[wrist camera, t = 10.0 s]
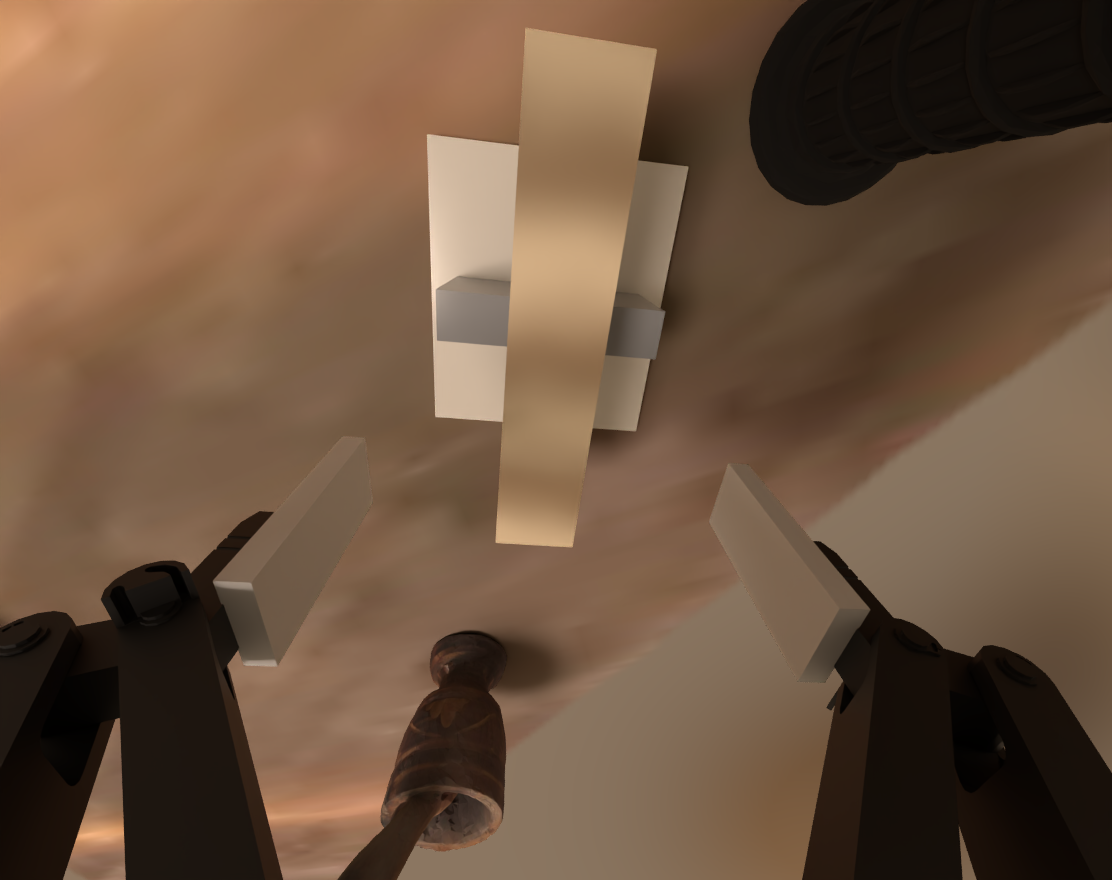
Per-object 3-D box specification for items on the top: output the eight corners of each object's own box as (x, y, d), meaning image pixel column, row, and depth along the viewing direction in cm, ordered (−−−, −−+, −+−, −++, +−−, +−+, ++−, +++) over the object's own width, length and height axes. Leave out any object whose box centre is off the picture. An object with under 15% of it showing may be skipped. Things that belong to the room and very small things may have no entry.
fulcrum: (432, 138, 23) (392, 104, 17) (682, 169, 24) (734, 148, 18) (439, 410, 30) (412, 459, 24) (632, 424, 31) (657, 475, 25)
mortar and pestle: (379, 647, 41) (257, 974, 23) (430, 596, 38) (336, 920, 20) (477, 693, 45) (437, 1006, 27) (530, 649, 42) (525, 964, 24)
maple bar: (528, 67, 16) (525, 27, 13) (631, 83, 16) (657, 49, 13) (501, 496, 26) (495, 542, 22) (567, 501, 26) (572, 547, 22)
